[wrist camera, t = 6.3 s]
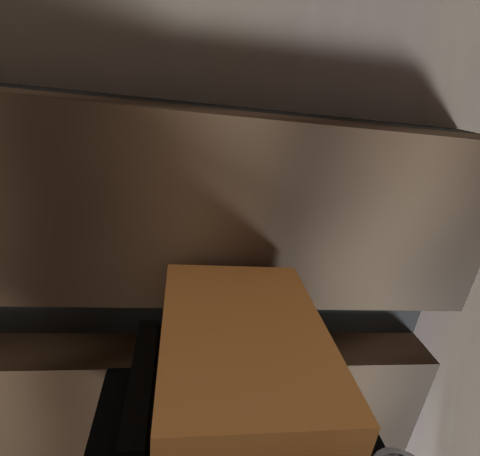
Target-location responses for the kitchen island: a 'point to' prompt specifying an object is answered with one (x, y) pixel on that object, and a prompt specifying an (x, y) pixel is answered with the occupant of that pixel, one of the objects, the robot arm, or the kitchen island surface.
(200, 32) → the kitchen island surface
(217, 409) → the fader tab
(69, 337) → the slider console
